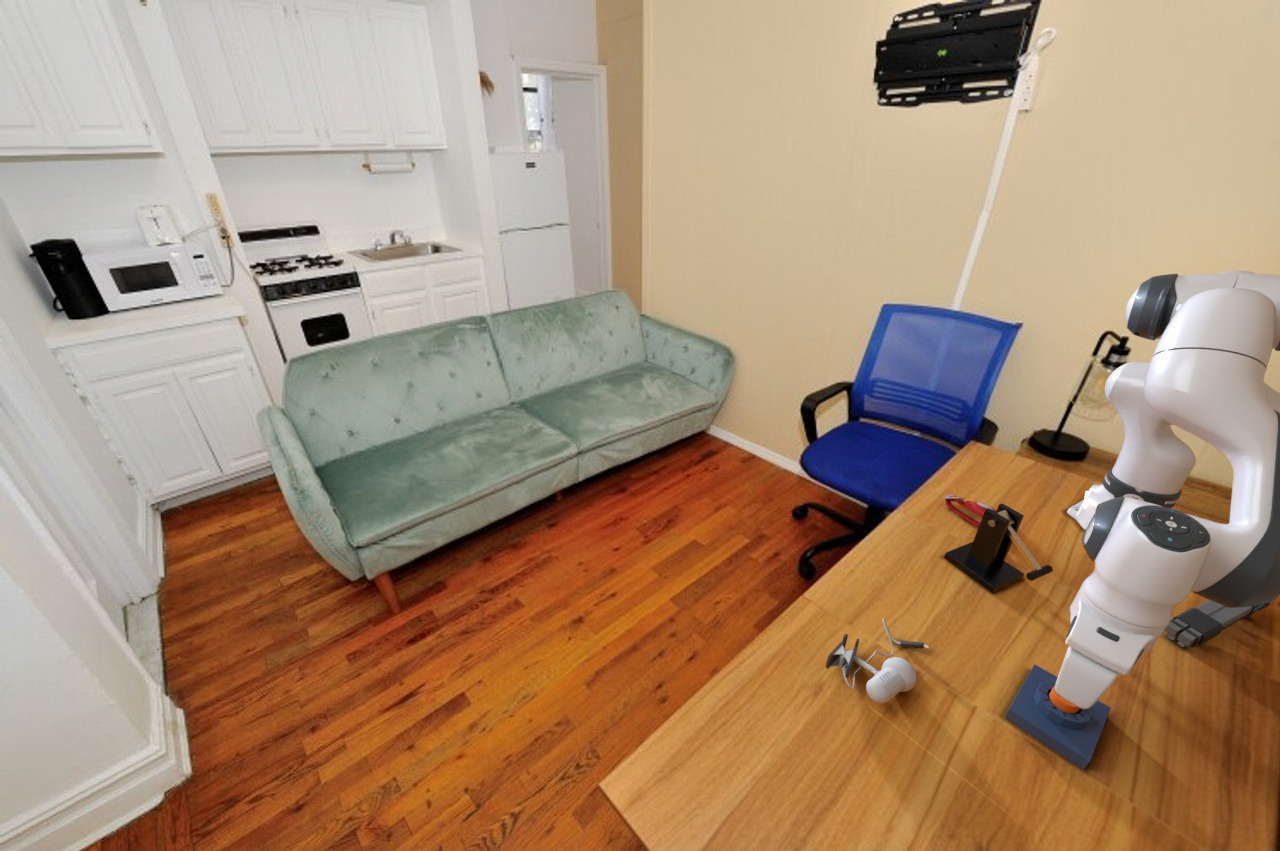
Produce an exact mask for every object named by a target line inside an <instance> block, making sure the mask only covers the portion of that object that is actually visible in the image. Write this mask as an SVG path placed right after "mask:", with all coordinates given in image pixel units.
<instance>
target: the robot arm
mask: <svg viewBox="0 0 1280 851" xmlns="http://www.w3.org/2000/svg"><path fill="white" fill-rule="evenodd" d="M1125 321H1126V324H1127V325H1126V329H1127V330H1128V331H1129V332H1130V333H1131V334H1133V336H1136V337H1138V338H1142V339H1145V340H1149V341H1156V340H1159V341H1158V343H1157V345H1156V347H1155V349H1154V352H1153V354H1152V355H1151V359H1150V361H1149V362H1146V361H1129V362H1126V363H1124V364H1122V365H1120V366H1118V367H1117V368H1115V369H1114V370H1113V371H1112V372H1111V373H1110V374H1109V376H1108V377H1107V379H1106V381H1105V384H1104V396H1105V398H1106V401H1107V402H1108V403H1109V404H1110V405H1111V406H1112V407H1113V408H1114V410H1115V411H1116V412H1117V415H1118V416H1119V418H1120V421H1121V422H1122V426H1123V433H1124V434H1123V435H1124V438H1123V442H1122V446H1121V449H1120V451H1119V454H1118V456H1117V459H1116V460H1115V463H1114V464H1113V467H1111V468H1110V469H1109V470H1108V471H1107V472H1106V474H1105V476H1104V478H1103V481H1102V483H1101V484H1097V483H1094V484H1092V485H1091V487H1089V489H1088V490H1086V491H1085V493H1084V499H1082V500H1080V501H1079V502H1077V503H1076V504H1074V505H1072V506H1070V507H1069V508H1068V509H1067V511H1066V513H1067V514H1068V515H1069V516H1070V517H1071V518H1073V519H1074V520H1075V521H1077V523H1078V524H1079V525H1080V527H1081V528H1082V529H1083V530H1084V531H1083V533H1082V536H1081V540H1080V541H1081V544H1082V546H1083V548H1084V550H1085V552H1086V554H1087V556H1088V557H1089V558H1090V560H1091V562H1093V563H1094V569H1093V571H1092V573H1091V574H1089V575H1088V576H1087V577H1085V579H1084V580H1083V582H1082V583H1081V585H1080V587H1079V589H1078V591H1077V593H1076V595H1075V597H1074V598H1073V600H1072V601H1071V602H1072V603H1071V604H1070V606H1069V614H1070V617H1069V618H1070V620H1069V621H1070V622H1069V627H1068V632H1067V634H1066V638H1065V640H1064V644H1065V645H1066V646H1067V649H1066V652H1065V655H1064V658H1063V660H1062V663H1061V666H1060V670H1059V672H1058V675H1057V677H1058V678H1057V681H1056V684H1055V693H1056V694H1057V695H1059V696H1060V697H1062V698H1063V699H1065V700H1066V701H1068V702H1070V703H1071V704H1073V705H1075V706H1077V707H1079V708H1081V709H1084V710H1086V709H1089V708H1090V707H1092V706H1093V705H1094V704H1095V703H1096V702H1097V700H1098V701H1099V700H1100V698H1101V697H1102V696H1103V695H1104V694H1105V693H1106V692H1107V691H1108V690H1109V688H1110V687H1111V686H1112V685H1113V684H1114V682H1115V681H1116V680H1117V679H1118V677H1119V676H1120V675H1123V676H1128V675H1129V674H1130V672H1131V671H1132V670H1133V669H1134V667H1135V665H1136V664H1137V662H1138V660H1139V659H1140V658H1141V657H1142V656H1143V655H1145V654H1147V652H1148V651H1150V650H1152V649H1153V648H1154V646H1155V645H1156V643H1157V642H1158V640H1159V638H1160V637H1161V636H1162V634H1163V633H1164V632H1165V631H1164V630H1165V628H1166V627H1167V626H1168V624H1169V622H1170V621H1171V620H1172V619H1173V610H1174V608H1175V607H1176V606H1177V605H1179V604H1181V603H1182V602H1184V601H1185V600H1186V599H1187V598H1188V597H1189V595H1190V593H1191V592H1192V593H1193V594H1195V595H1198V596H1200V597H1202V598H1204V599H1207V600H1208V601H1209V600H1212V601H1214V602H1216V603H1219V604H1221V605H1224V606H1226V607H1229V608H1238V607H1249V606H1255V605H1260V604H1264V603H1268V602H1271V603H1272V602H1274V601H1275V600H1277V598H1278V597H1279V596H1280V392H1278V391H1277V390H1275V389H1274V388H1273V387H1271V386H1270V385H1269V384H1268V383H1266V381H1265V375H1266V372H1267V369H1268V365H1269V363H1270V360H1271V356H1272V353H1273V349H1274V350H1275V352H1280V274H1270V273H1256V272H1253V271H1249V270H1226V271H1221V272H1217V273H1202V274H1201V273H1198V274H1184V275H1179V274H1178V273H1167V274H1160V275H1154V276H1151V277H1149V278H1147V279H1146V280H1144V281H1143V282H1142V283H1141V284H1140V285H1139V287H1138V288H1137V289H1136V290H1135V291H1134V292H1133V293H1132V295H1131V296H1130V298H1129V300H1128V301H1127V304H1126V307H1125ZM1172 426H1175V427H1177V428H1179V429H1181V430H1183V431H1186V432H1187V433H1189V434H1191V435H1193V436H1195V437H1197V438H1199V439H1200V440H1202V441H1204V442H1206V443H1207V444H1209V445H1210V446H1212V447H1213V448H1215V449H1216V450H1218V452H1220V453H1221V454H1222V455H1223V456H1224V457H1225V458H1226V459H1227V460H1228V462H1229V464H1230V465H1231V467H1232V472H1233V475H1232V487H1231V488H1232V489H1231V498H1230V510H1229V522H1228V523H1220V522H1217V521H1212V520H1210V519H1205V518H1204V517H1203V518H1202V517H1199V516H1196V515H1191V514H1188V513H1185V512H1182V511H1181V510H1178V509H1174V507H1175V505H1176V504H1177V503H1178V502H1179V500H1180V498H1181V495H1182V493H1183V492H1182V488H1183V486H1184V484H1185V483H1186V481H1187V479H1188V478H1189V477H1190V474H1191V472H1192V471H1193V469H1194V467H1195V466H1196V462H1197V459H1196V455H1195V453H1194V451H1193V449H1192V448H1191V447H1190V446H1189V444H1187V443H1186V442H1184V441H1183V440H1182V439H1180V438H1179V437H1178V436H1177V435H1176V433H1174V431H1173V429H1172Z"/></svg>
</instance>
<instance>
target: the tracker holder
mask: <svg viewBox="0 0 1280 851" xmlns="http://www.w3.org/2000/svg"><path fill="white" fill-rule="evenodd" d="M942 499H944V502H945V504H946V506H947V507H948V508H949V509H950V510H952V512H954V513H955V514H957V515H958V516H960V517H961V518H963V519H965V520H966V521H967V522H969V523H971V524H972V525H974V526H977V527H979V525H980V522H979V521H977V520H975V519H974V518H973V517H971V516H969V515H968V514H966V513H965V512H964V511H962V510H960V509H958V508H957V507H956V506H955V505H954V504H953V503H957V505H959V506H961V507H963V508H965V509H966V510H968V511H969V512H972V513H974V514H975V515H977V516H979V517H980V518H982V517H983V515H984V512H985V510H986V509H988V508H989V509H991V510H993V511H994V512H996V511H997V509H995V508H993V507H992V506H991V505H989V504H986V503H984V502H981V501H972V500H966V498H965V497H961V496H958V495H952V494H951V495H946V496H943V497H942Z"/></svg>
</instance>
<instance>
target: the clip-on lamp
mask: <svg viewBox="0 0 1280 851" xmlns="http://www.w3.org/2000/svg"><path fill="white" fill-rule="evenodd" d="M882 623H883V626H884V630H885V631H886V635H887V637H888V640H889V644H890V647H891V653H890V654H887V653H884V652H881V651H880V650H875V651H874V652H873V653H872V655H871V656H869V657H868V658H867V659H866V660H865V661H864V659H862V658H861V657H859V656H857V652H858V648H859V644H860V639H859V638H857V639H856V640H855V643H854V646H853V649H850V650H845V648H846V644H847V642H848V637H849V634H847V633H845V634H844V635H843V637H842V640H841V641H840V642H839V644H837V645H836V646H835V648H834V649H833V650H832V651H831V652H830V653H829V654H828V656H827V658H826V659H827V660H826V663H825V668H826V669H827V670H828V669H830V668H832V667H840V668H841V670H842V676H843V678H844V681H845V683H846V685H847V686H848V687H849V689H854V688H855V683H856V682H855V681H856V673H857V672H859V670H860V669H862V668H863V669H864V670H866V671H868V672H869V673H870V674H872V675H874V676H872V677H871V678H870V679H868V680H867V682H866V685H865V690H866V693H867V696H868V697H869V698H870V699H871V700H872V701H873V702H875V703H877V704H880V705H881V704H886V703H888V702H889V701H890V700H891V699H893V698H894V697H895V696H896V695H897V694H899V693H904V692H909V691H910V690H912V689H913V688H914V687H915V685H916V684H917V673H916V671H915V668H914V667H913V666H912V664H911V663H910V662H909V661H908V660H906V659H904V658H902V657H898V656H894V646H893V643H892V641H893V642H894V643H895V644H897V645H900V647H902V648H908V649H921V650H922V649H923V650H924V648H926V649H927V650H928V649H930V646H929V645H927V644H925V642H922V641H921V642H920V641H910V640H901V641H899V640H896V639H895V638H894V637H893V635H892V633H891V632H890V630H889V627H888V625H887V622H886V619H885V618H884V617H882ZM876 654H877V655H879V656H882V657H886V658H887V659H886V660H884V661H883V663H882V665H881V670H877V669H876V668H875V667H874V666H872V665H871V664H869V661H870V660H871V659H872V658H874V657H875V655H876ZM893 656H894V657H893ZM854 662H855V663H856V664H858V665H859V667H857V669H855V670H854V671H853V673H852V685H851V684H850V683H849V681H848V678H849V676H850V674H851V671H852V667H853V664H854Z"/></svg>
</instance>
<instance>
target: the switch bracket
mask: <svg viewBox="0 0 1280 851" xmlns="http://www.w3.org/2000/svg"><path fill="white" fill-rule="evenodd" d="M1003 510H1006V511H1007V513H1008V514H1009V515H1010V517H1011V518H1012V520H1013V521H1014V523H1013V524H1010V525H1011V527H1012V528H1013V529H1014V531H1015V532H1016V534H1018V530H1019V528H1020V526H1021V524H1022V521H1023V519H1024V517H1025V515H1024V514H1022V513H1020V512H1019V511H1017V510H1015V509H1014V508H1011V507H1010V506H1008V505H1006V504H1004V503H999V504H998V506H997V508H996V512H994V511H993V510H991V509H989V508H988V509H986V510H985V512H984V515H983V517H981V520H980V522H979V523H980V525H979V526H978V528H977V529H976V533H975V536H974V539H973V541H972V542H968V543H966V544H964V545H962V546H959V547H956V548H954V549H952V550H949V551H947V552H945V554H944V556H943V558H944V559H945V560H947V561H948V562H949V563H950V564H952V565H953V566H954V567H955V568H957V569H959V570H960V571H961V572H962V573H964V574H965V575H967V576H968V577H970V578H971V579H973V580H974V581H975V582H977V583H978V584H979V585H981V586H982V587H983V588H985V589H986V590H988V591H989V592H991V593H992V594H993V593H996V592H998V591H1000V590H1002V589H1005V588H1006V587H1009V586H1012V585H1013V584H1016V583H1018V582H1020V581H1022V580H1023V579H1024V577H1025V576H1026V574H1025V573H1024V572H1022V571H1021V570H1020V569H1018V568H1017V567H1015V566H1014V565H1012V564H1011V563H1009V562H1007V561H1006V559H1007V556H1008V554H1009V552H1010V549H1011V547H1012V544H1013V542H1012V540H1011V539H1010V538H1009V536H1008V535H1007V533H1006V530H1007V528H1008V526H1009V523H1010V520H1008V519H1006V518H1004V517H1003V516H1001V515H999V514H998V512H1001V511H1003Z"/></svg>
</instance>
